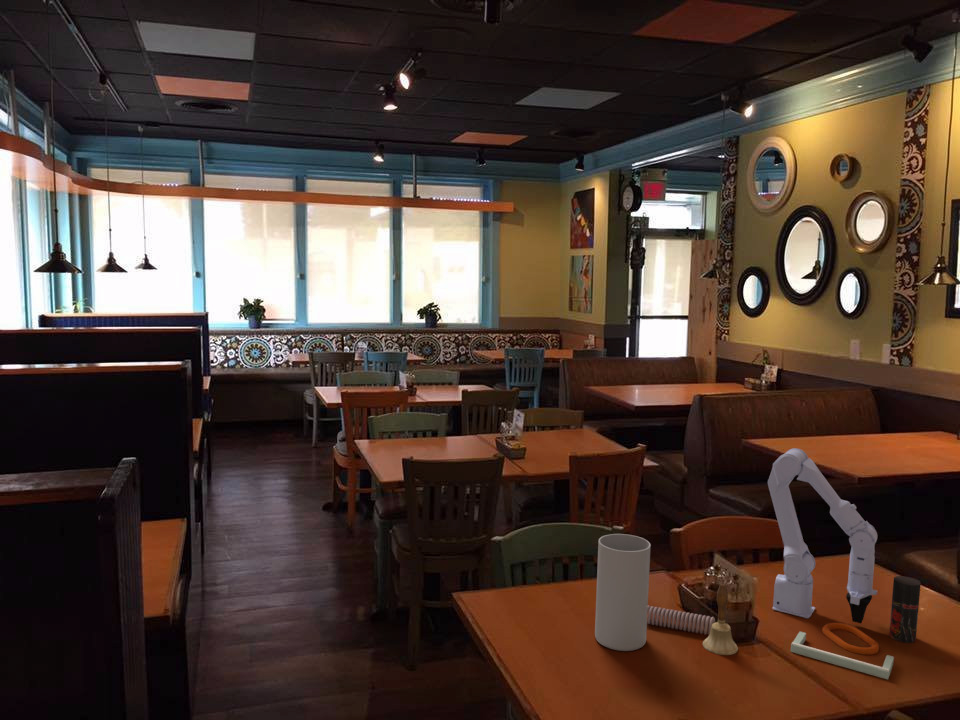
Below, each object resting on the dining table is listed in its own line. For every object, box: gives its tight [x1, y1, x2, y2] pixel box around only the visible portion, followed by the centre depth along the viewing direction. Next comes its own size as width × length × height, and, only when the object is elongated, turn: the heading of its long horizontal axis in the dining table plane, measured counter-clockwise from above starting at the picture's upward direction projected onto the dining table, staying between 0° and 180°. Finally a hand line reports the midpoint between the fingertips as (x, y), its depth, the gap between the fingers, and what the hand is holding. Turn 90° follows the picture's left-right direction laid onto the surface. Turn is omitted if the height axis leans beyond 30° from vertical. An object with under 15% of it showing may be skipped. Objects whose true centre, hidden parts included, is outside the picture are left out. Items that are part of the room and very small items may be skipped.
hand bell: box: [702, 583, 739, 656], centre depth 184 cm, size 8×8×16 cm
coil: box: [647, 604, 716, 636], centre depth 194 cm, size 5×5×18 cm
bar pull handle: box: [790, 631, 895, 680], centre depth 180 cm, size 21×9×2 cm, turn 54°
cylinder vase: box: [594, 533, 652, 652], centre depth 186 cm, size 12×12×25 cm
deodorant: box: [888, 575, 922, 644], centre depth 191 cm, size 6×6×15 cm
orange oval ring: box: [821, 622, 880, 656], centre depth 189 cm, size 10×2×15 cm
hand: (857, 621), depth 197 cm, fingers closed
